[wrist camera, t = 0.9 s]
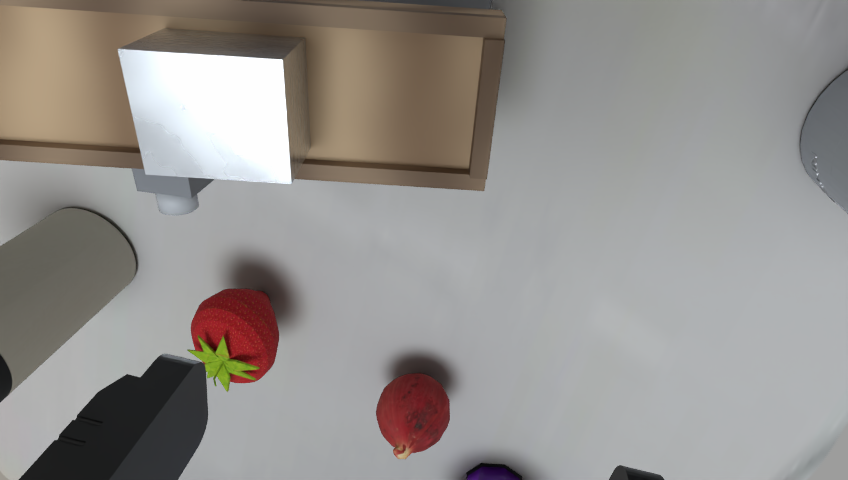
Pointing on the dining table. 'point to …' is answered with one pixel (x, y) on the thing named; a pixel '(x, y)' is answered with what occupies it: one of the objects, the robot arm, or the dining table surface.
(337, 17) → the beam
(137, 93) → the block
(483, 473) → the potion bottle
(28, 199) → the dining table surface
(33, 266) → the travel mug
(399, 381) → the pomegranate
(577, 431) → the dining table surface
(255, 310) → the strawberry
